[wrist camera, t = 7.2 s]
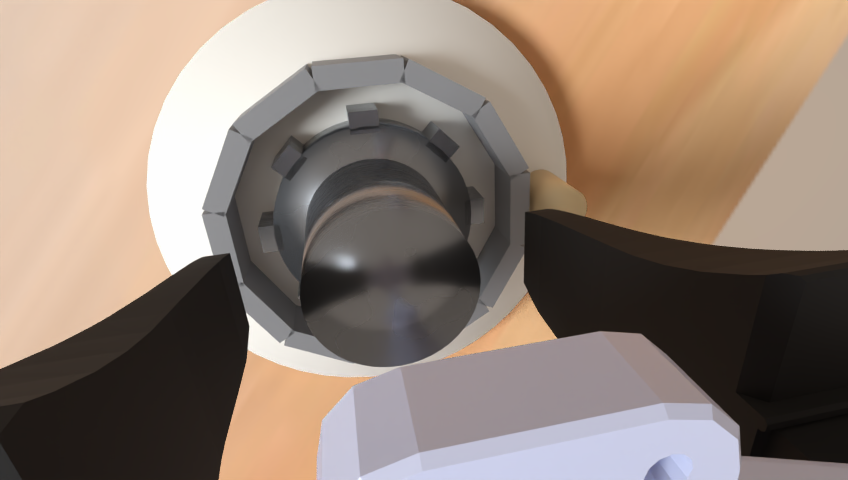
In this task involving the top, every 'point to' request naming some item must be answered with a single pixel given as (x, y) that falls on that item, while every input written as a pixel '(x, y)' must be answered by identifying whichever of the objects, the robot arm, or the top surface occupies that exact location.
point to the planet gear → (377, 237)
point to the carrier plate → (326, 106)
